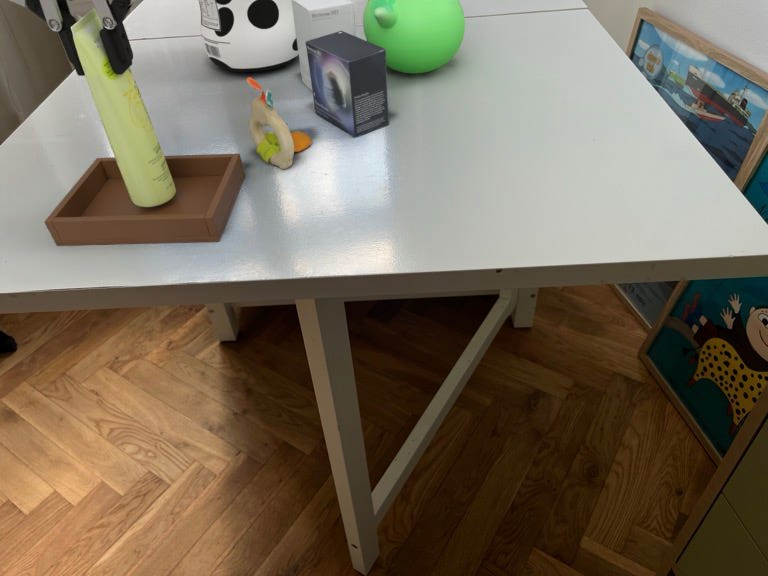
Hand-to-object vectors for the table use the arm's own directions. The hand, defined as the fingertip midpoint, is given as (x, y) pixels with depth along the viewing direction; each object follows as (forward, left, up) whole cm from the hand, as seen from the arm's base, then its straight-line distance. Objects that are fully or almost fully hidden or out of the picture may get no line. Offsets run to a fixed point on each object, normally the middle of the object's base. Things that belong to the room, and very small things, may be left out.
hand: (105, 68), depth 53 cm
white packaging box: (+17, +35, -16) cm, 42 cm away
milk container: (+3, +47, -16) cm, 50 cm away
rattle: (+14, +11, -16) cm, 24 cm away
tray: (0, 0, -16) cm, 16 cm away
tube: (0, 0, -15) cm, 15 cm away
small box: (+21, +22, -16) cm, 35 cm away
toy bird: (+30, +41, -16) cm, 53 cm away
